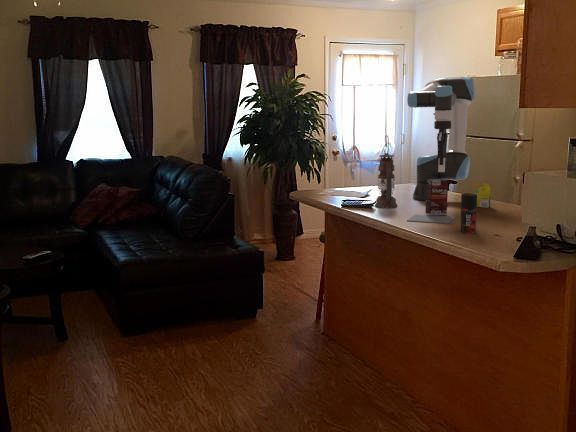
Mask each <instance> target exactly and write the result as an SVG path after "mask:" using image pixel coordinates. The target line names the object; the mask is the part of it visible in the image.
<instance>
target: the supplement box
mask: <svg viewBox="0 0 576 432" xmlns="http://www.w3.org/2000/svg"><path fill="white" fill-rule="evenodd" d="M448 192H449V180H447V179H439V180H427V192H426V201H425V215H434V216H448V215H447V214H448V197H449V196H448V194H449V193H448Z"/></svg>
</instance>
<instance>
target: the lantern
mask: <svg viewBox="0 0 576 432" xmlns="http://www.w3.org/2000/svg"><path fill="white" fill-rule="evenodd" d="M386 138H387V152H384V154H380V155H378V156H379V157H380V159H379V164H378V169H377V170H378V172H379V174H378V175H377V183H378V185H377V189H378V191H379V195H378V196H377V198H376V200H375V201H376V203H374V207H375V208H378V209H395V208H397V207H398V204H397V199H396V198H395V197H394V196H393V195H394V189H395V183H394V182H395V181H396V180H395V179H396V177H395V174H394V172H395V164H394V159H393V157H395V155H394V154H389V150H390V149H389V147H390V144H389V143H390V141H389V135H384V140H386Z"/></svg>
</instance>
